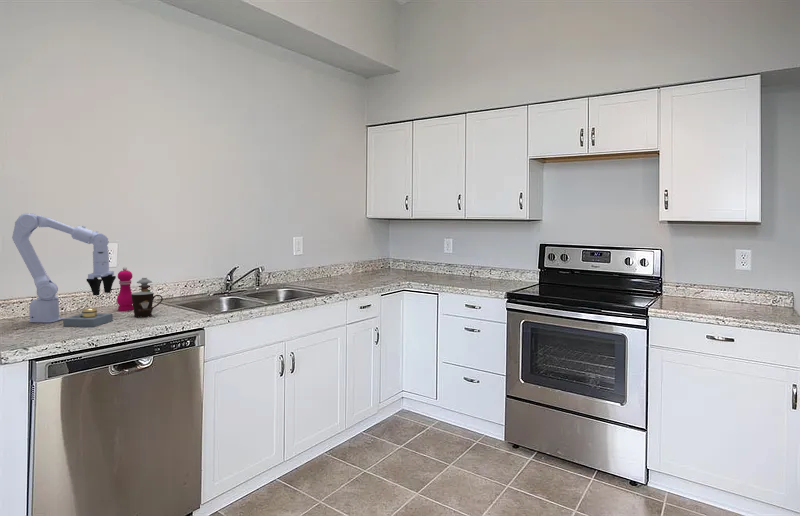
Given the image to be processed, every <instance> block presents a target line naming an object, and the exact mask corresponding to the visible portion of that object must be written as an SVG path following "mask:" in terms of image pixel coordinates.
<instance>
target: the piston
mask: <svg viewBox="0 0 800 516" xmlns="http://www.w3.org/2000/svg"><path fill="white" fill-rule="evenodd" d="M81 311H82V313H83V318H88V317H95V316H97V313H98V311H97V307H85V308H82V309H81ZM82 313H81V314H82Z"/></svg>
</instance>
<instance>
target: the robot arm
mask: <svg viewBox="0 0 800 516" xmlns="http://www.w3.org/2000/svg"><path fill="white" fill-rule="evenodd" d="M13 227H14V228H13V231H12V237H11V239H12V241H13V243H14V245H15V247H16V249H17V251H18V253H19V255H20V256H21V258H22V260H23V262H24V264H25V266H26V268H27V269H28V272H29V273H30V276H31V277H32V280H33V282H34V285H35V287H36V296H37V298H36V299H32V300H31V301H30V303H29V307H28V308H29V310H28V311H29V320H28V321H27V322H28V323H55V322H57V321H58V322H59V321H63V319H64V318H65V317H60V301H59V298H60V297H59V296H57V294H58V291H59V287H58V285H57V284H56V283H55V282H54V281H53V280H52V279H51V278H50V276H49V275H48V273H47V272H46V270H45V267H44V266H43V264H42V262H41V260H40V258H39V256H38V254H37V252H36V251H35V248H34V246H33V244H32V243H31V240H30V237H31V235H32V234H33V232H34V231H35V230H36V229H38V228H51V229H53V230H57V231H59V232H63V233H66V234H69V235H70V236H71V238H72V239H73V240H76V241H79V242H82V243H85V244H87V245H91V244H92V245H93V251H92V264H93V265H92V268H93V270H92V271H93V272H91V273H89V274H87V278H86V282H87V283H88V285H89V287H90V289H91V293H92V295H93V296H100V293H101V284H102V285H103V291H104V293H105V294H110V293H111V291H112V287H113V284H114V282H115V281H116V278H117V276H116V275H115V271H114V270H110V257H109V256H110V255H109V246H108V245H109V238H108V237H107V235H105V234H103V233H99V231H97V230H95V231H94V230H91V229H90V228H87V226H84V225H82V226H80V225H77V226H71V225H68V224H66V223H63V222H61V221H58V220H55V219H53V218H50V217H47V216H43V215H38V214H36V213H29V212H27V213H26V212H25V213H23V214H22V213H21V214H20V215H19V216H18V218H17V219H16V220H15V222H14V226H13Z"/></svg>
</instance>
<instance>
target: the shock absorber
mask: <svg viewBox="0 0 800 516" xmlns="http://www.w3.org/2000/svg"><path fill="white" fill-rule="evenodd" d="M151 283H153V281H152V280H150V279H148V277H142V278H141V279H139V280H138V281H136V284H140V285H139V286H138V288H139V290H140V292H151V289H150V288H151V285H148V284H151Z"/></svg>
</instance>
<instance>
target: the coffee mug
mask: <svg viewBox="0 0 800 516" xmlns="http://www.w3.org/2000/svg"><path fill="white" fill-rule="evenodd" d="M154 294H155V293H154V292H153V291H150V292H141V291H138V292H132V294H131V296H132V302H133V304H132V305H133V308H134V309H133V313H134V318H148V316H149V317H151V316H152V313H153V309H154V308H156V307H157V306H160V304H161V303H162V302H163V299H164V298H163V296H162V295H160V294H155V295H154ZM156 297H160V301H159V302H158V303H157V304H156V305H154V306H153V304H154V303H153V302H154V300H155V298H156Z"/></svg>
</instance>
